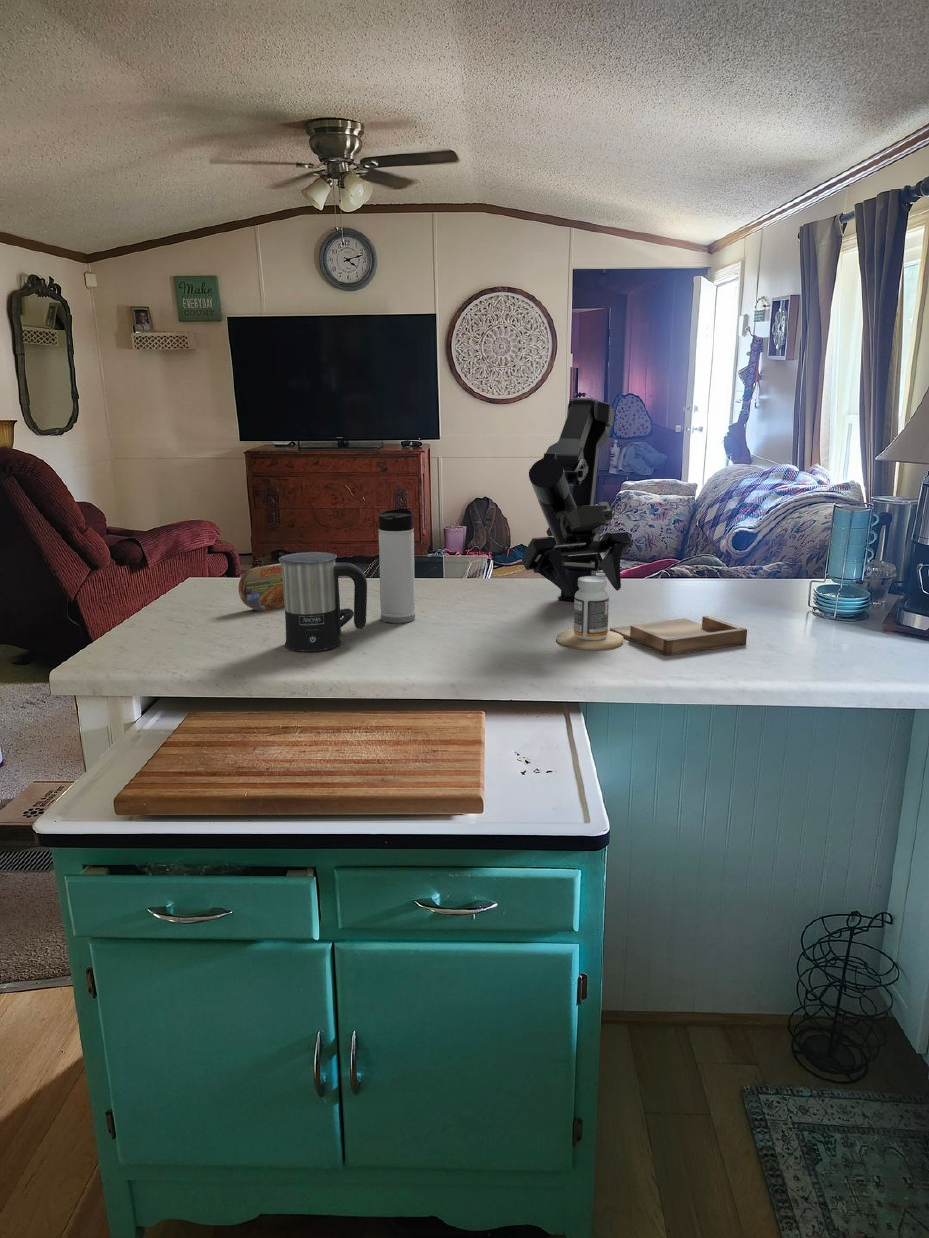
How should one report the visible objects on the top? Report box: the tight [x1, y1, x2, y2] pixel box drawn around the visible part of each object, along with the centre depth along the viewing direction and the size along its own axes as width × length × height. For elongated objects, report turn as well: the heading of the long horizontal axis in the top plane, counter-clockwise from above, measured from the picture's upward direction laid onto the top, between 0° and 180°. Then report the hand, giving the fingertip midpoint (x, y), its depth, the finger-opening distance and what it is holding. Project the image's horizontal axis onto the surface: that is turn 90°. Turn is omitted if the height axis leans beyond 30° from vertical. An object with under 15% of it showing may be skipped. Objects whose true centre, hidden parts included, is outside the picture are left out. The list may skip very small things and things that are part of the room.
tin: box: [238, 563, 285, 612], centre depth 169 cm, size 15×3×8 cm, turn 129°
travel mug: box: [378, 507, 416, 624], centre depth 158 cm, size 6×7×20 cm
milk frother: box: [277, 551, 368, 653], centre depth 146 cm, size 14×16×15 cm
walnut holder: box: [609, 615, 748, 657], centre depth 148 cm, size 16×16×2 cm
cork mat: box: [556, 628, 624, 651], centre depth 146 cm, size 11×11×1 cm
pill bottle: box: [573, 575, 610, 640], centre depth 145 cm, size 6×6×10 cm
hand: (595, 591), depth 143 cm, fingers open, 9 cm apart
